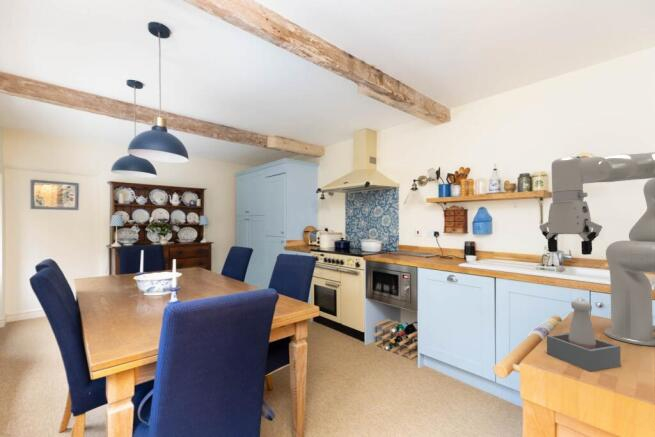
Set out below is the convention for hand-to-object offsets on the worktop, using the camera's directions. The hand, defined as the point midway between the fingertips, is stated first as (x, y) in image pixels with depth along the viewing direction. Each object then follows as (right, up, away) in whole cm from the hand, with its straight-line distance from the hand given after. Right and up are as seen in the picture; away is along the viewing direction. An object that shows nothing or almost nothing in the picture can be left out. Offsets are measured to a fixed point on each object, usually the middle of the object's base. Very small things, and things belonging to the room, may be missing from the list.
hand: (568, 253), depth 94 cm
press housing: (-6, -27, -12) cm, 30 cm away
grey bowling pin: (-6, -25, -12) cm, 28 cm away
